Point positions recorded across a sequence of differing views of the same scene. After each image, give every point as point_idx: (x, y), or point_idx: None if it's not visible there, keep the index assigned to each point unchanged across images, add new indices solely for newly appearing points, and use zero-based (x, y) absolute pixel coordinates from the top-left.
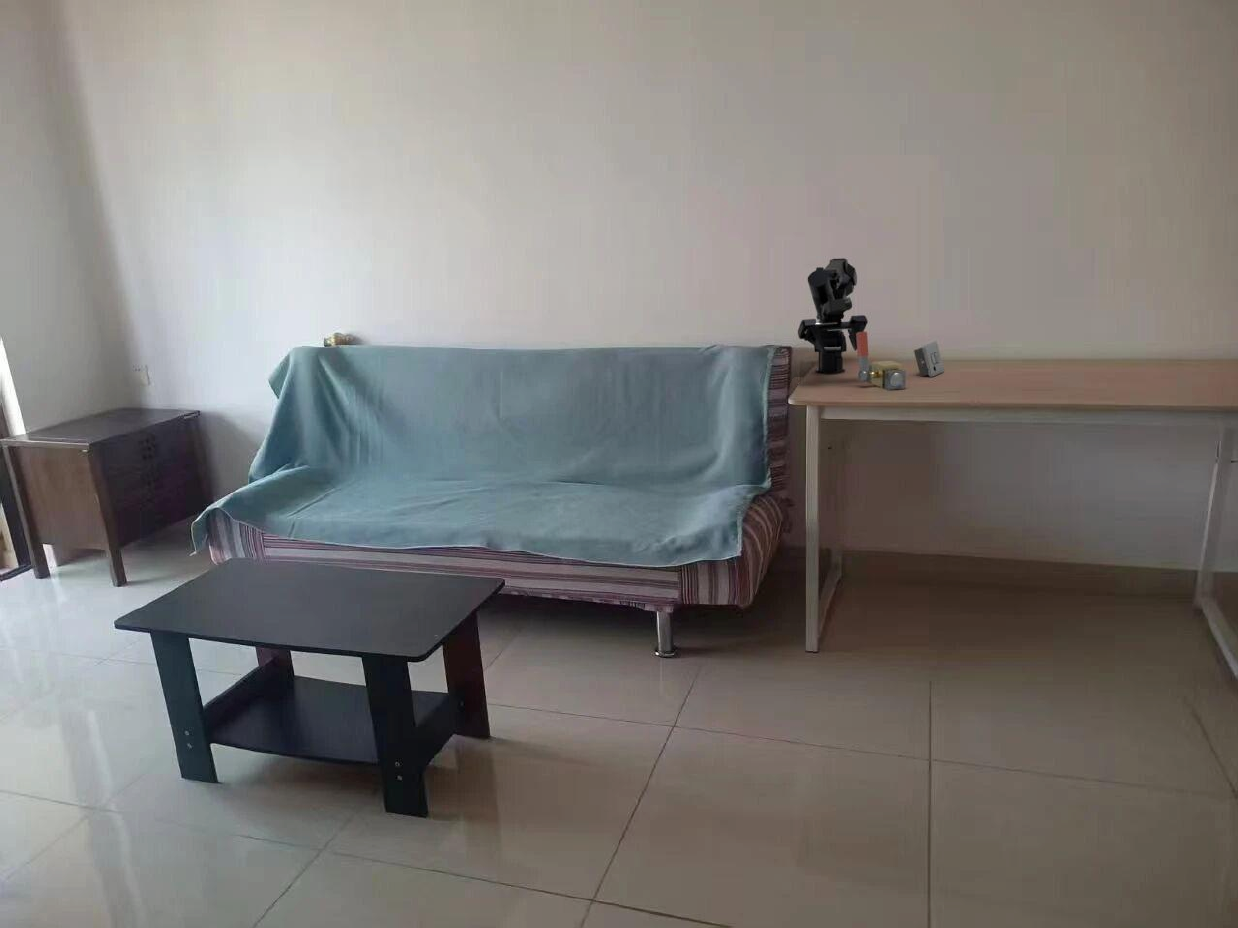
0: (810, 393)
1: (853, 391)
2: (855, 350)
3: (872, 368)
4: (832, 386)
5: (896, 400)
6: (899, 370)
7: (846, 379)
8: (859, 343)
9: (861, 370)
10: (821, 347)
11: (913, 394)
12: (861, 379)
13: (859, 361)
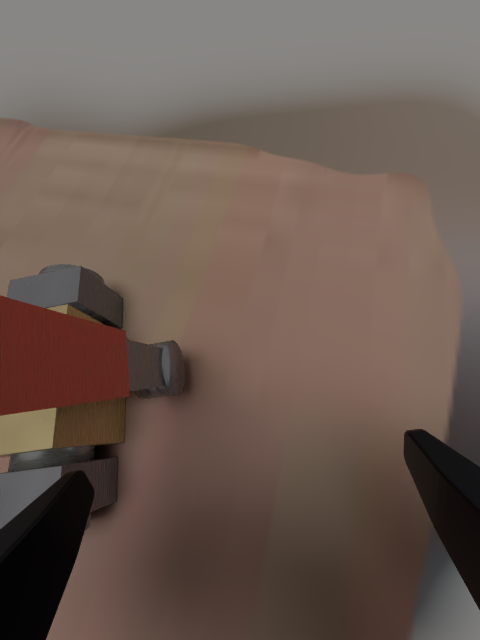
0: (419, 303)
1: (241, 303)
2: (90, 486)
3: (78, 437)
4: (303, 434)
5: (164, 163)
6: (25, 291)
7: (191, 625)
8: (57, 333)
9: (160, 359)
10: (470, 468)
11: (89, 224)
12: (180, 359)
13: (139, 381)
